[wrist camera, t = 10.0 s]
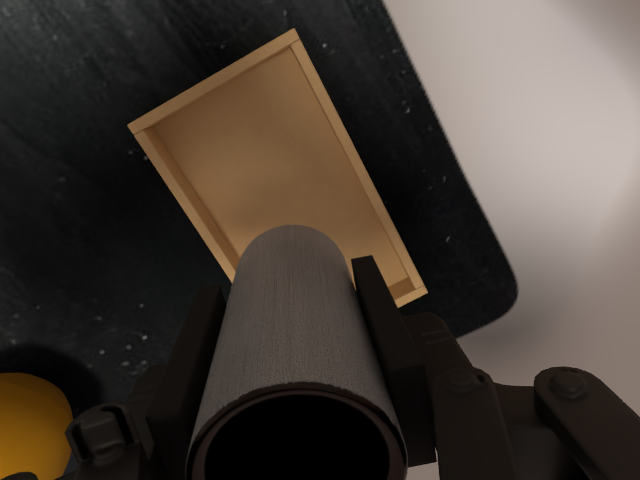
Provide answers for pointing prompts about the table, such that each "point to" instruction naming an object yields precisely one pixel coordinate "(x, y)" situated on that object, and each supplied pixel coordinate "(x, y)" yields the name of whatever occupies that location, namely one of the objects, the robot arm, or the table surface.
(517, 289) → the table surface
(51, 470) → the apple
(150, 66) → the table surface
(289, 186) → the tray
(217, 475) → the grey hollow cylinder
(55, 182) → the table surface
